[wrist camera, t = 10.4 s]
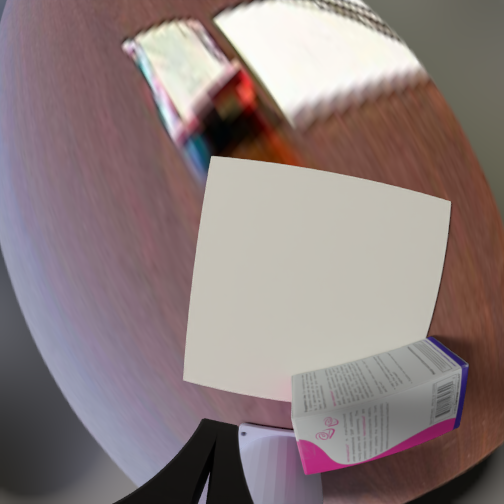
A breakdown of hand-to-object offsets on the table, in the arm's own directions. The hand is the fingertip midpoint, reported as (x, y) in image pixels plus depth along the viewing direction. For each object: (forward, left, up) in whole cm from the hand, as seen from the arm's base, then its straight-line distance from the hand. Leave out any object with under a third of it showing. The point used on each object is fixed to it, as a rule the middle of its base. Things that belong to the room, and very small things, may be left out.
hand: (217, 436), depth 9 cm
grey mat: (+4, -4, -11) cm, 12 cm away
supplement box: (0, -15, -8) cm, 17 cm away
